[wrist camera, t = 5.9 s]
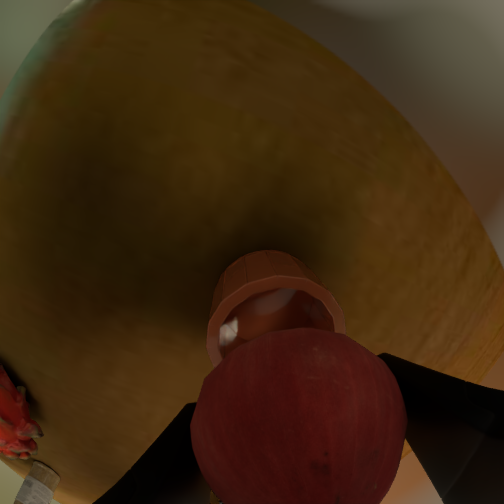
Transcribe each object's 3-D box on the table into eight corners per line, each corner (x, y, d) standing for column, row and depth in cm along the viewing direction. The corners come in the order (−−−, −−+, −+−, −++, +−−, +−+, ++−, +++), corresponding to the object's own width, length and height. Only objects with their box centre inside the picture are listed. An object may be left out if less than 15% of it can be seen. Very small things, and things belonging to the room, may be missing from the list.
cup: (323, 330, 16) (349, 374, 12) (230, 354, 16) (229, 405, 12) (307, 237, 15) (336, 259, 10) (200, 264, 15) (186, 297, 10)
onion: (375, 307, 10) (519, 452, 2) (317, 416, 11) (368, 563, 3) (226, 267, 9) (210, 536, 1) (189, 395, 10) (165, 575, 2)
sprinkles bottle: (43, 473, 20) (17, 531, 7) (29, 455, 19) (-3, 517, 6) (66, 482, 21) (42, 546, 7) (52, 466, 20) (22, 534, 6)
